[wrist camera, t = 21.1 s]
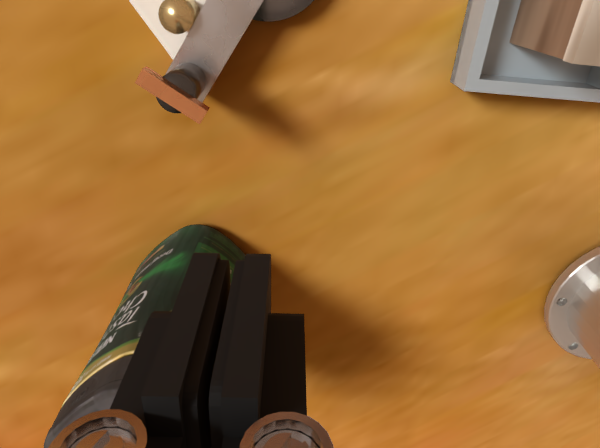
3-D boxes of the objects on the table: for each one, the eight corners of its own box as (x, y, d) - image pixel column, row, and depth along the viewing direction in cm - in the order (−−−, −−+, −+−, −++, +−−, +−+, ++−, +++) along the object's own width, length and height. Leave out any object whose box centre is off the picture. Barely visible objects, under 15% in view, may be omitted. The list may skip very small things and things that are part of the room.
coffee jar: (196, 203, 37) (118, 385, 21) (267, 265, 40) (247, 469, 23) (120, 274, 40) (-1, 481, 24) (191, 327, 43) (126, 546, 26)
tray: (644, -69, 29) (680, -74, 26) (586, 93, 33) (611, 103, 31) (487, -86, 28) (508, -92, 26) (450, 81, 33) (463, 90, 30)
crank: (251, -101, 27) (240, -119, 22) (308, -54, 28) (311, -61, 23) (157, 73, 31) (129, 92, 26) (209, 108, 32) (193, 133, 27)
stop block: (592, -21, 29) (688, -19, 22) (568, 49, 31) (650, 71, 24) (527, -27, 29) (604, -29, 22) (508, 43, 31) (572, 63, 24)
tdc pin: (200, -3, 30) (192, -1, 28) (200, 30, 31) (192, 35, 29) (168, -6, 30) (157, -5, 27) (169, 28, 31) (159, 32, 28)
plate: (191, -49, 29) (190, -49, 29) (239, 24, 31) (239, 25, 31) (130, 0, 30) (129, 0, 30) (180, 67, 32) (179, 68, 32)
